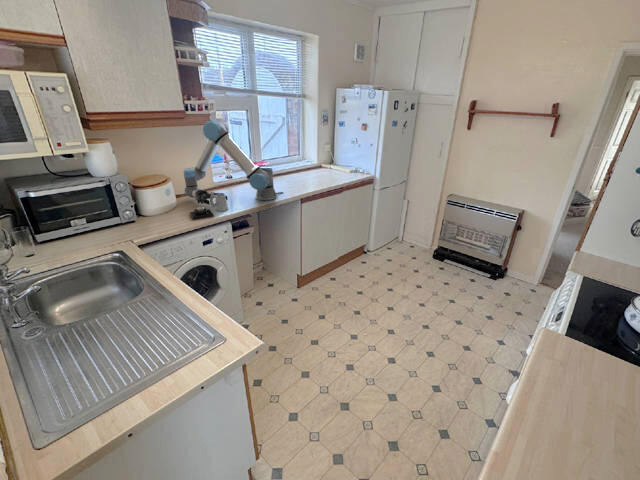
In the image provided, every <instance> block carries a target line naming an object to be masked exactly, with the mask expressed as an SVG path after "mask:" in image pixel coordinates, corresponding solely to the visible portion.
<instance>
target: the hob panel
mask: <svg viewBox="0 0 640 480" xmlns="http://www.w3.org/2000/svg"><path fill="white" fill-rule="evenodd" d="M189 216H190V217H191V219H192V220H193V221H195V220H203V219H209V218H214V213H213V212H212V211H211V209H209V208H208V209H207V208H205V207H204V211H197V208H196V209H194V211H189Z"/></svg>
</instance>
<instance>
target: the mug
mask: <svg viewBox="0 0 640 480" xmlns="http://www.w3.org/2000/svg"><path fill="white" fill-rule="evenodd" d="M213 192H214V191H210V193H211V197H210V199H209V202H210V204H209V205H210V206H211V207H212V208H215V210H216V212H226V211H228V209H229V206H228V203H227V201H228V200H226V197H225V196H226V194H225V193H224V194H218V195H216V196H215V195H214V194H213ZM214 197H215V198H214Z"/></svg>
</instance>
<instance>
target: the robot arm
mask: <svg viewBox="0 0 640 480" xmlns="http://www.w3.org/2000/svg"><path fill="white" fill-rule="evenodd" d="M202 132H203V135H204V137H205V138H206V139H207V140H208V141H207V143H206V145H205V147H204V149H203V151H202V152H201V156H200V157H199V159H198V160H197V163H196V165H195V168H194V169H191V168H190V169H184V170H183V177H184V182H185V188H184V190H183V192H184V194H185V195H186V196H188V197H189V198H193V199H195V200H196V202H197V204H201V205H203V204H206V205H208V206H209V205H211V204H210V197H211V192H208V191H207V190H205V189H202V188H199V187H198V186H199V185H198V182H199V181H200V180H203V179H204V178H205V177H206V175H207V174H206V173H207V170H208V168H209V167H210V165H211V163H212V161H213V159H214V157H215V155H216V153H217V151H218V149H219V148H220V147H221V149H222V150H223V151H224V152H225V153H226V154H227V155H228V157H230V159H232V161H233V162H234V163H235V164H236V165H237V166H238V167H239V168H240V169H241V170H242V172H244V173H245V177H246V179H247V180H248V181H249V185H250V187H251V188H252V189H254V190H255V191H256V194H255V199H256V200H258V201H272V200H276V199H277V197H278V196H277V195H279V194H283V193H284V192H283V191H279V192H276V190H275V187H274V172H273V168H272V167H271V166H260V165H255V164H254V163H253V161H252V160H251V159H250V158H249V157H248V156H247V155H246V154H245V152H244V151H243V150H242V148H240V147H239V145H238V144H237V143H236V142H235V141H234V139H232V138H231V133H230V132H229V126H228V124H227V123H226V122H225V121H224V120H222V119H214V120H208V121H206V122H205V123H204V124H203V127H202ZM212 192H213V194H214V195H215V196H216V195H218V194H224V195H225V193H224V192H214V191H212ZM225 197H226V200H227V201H228V195H225ZM213 199H215V197H214V198H213Z"/></svg>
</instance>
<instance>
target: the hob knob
mask: <svg viewBox="0 0 640 480" xmlns="http://www.w3.org/2000/svg"><path fill="white" fill-rule="evenodd" d="M204 208H205V207H204V206H197V207H196V209H197V211H204Z"/></svg>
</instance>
